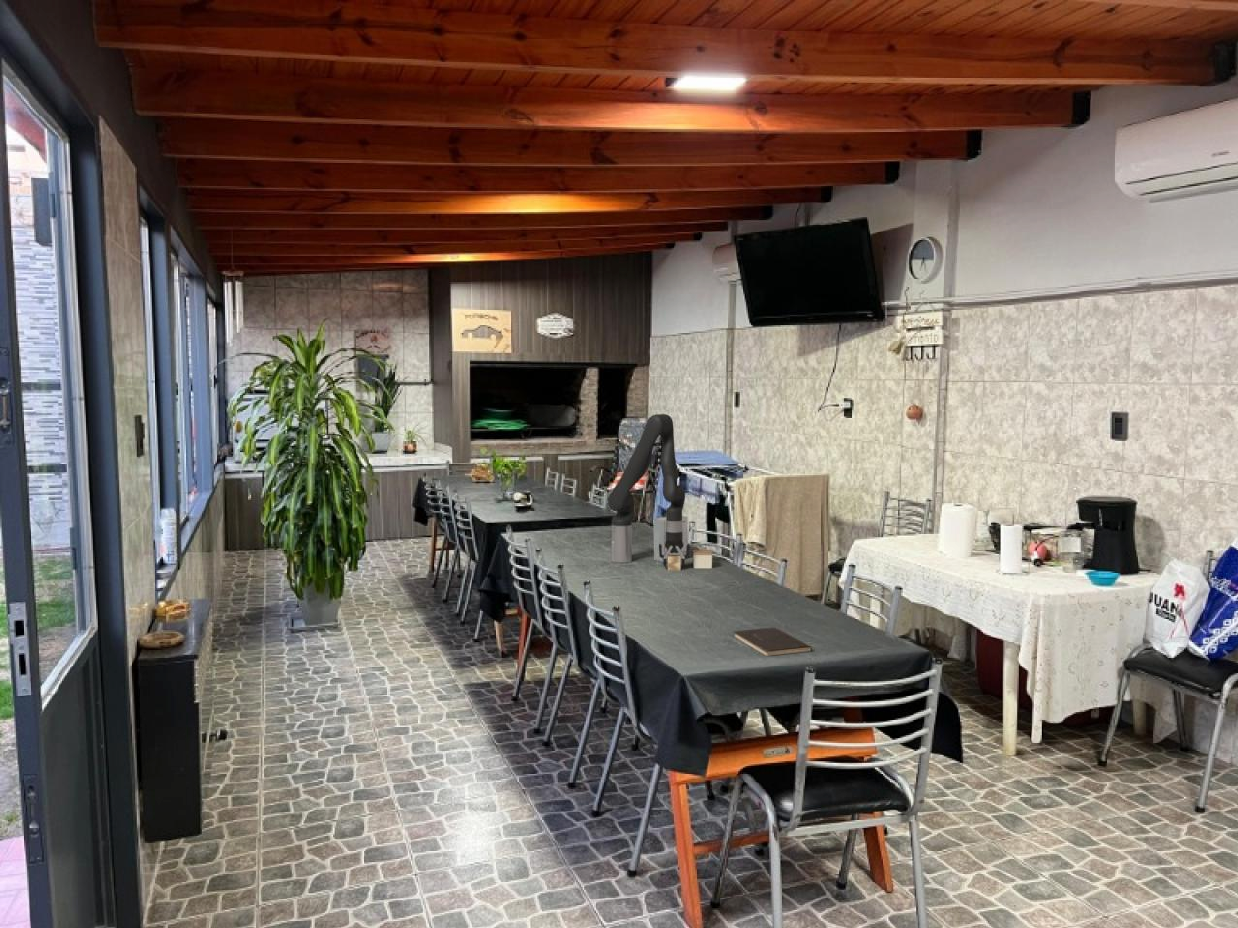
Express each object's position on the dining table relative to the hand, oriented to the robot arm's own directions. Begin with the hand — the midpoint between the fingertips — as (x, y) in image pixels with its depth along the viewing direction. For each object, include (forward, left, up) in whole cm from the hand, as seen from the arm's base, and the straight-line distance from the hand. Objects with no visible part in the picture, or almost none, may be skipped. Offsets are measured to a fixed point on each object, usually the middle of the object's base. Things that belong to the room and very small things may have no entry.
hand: (674, 566), depth 415 cm
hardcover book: (+29, -115, -2) cm, 119 cm away
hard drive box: (-1, +22, -1) cm, 22 cm away
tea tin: (+13, +6, -1) cm, 14 cm away
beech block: (0, 0, -1) cm, 1 cm away
